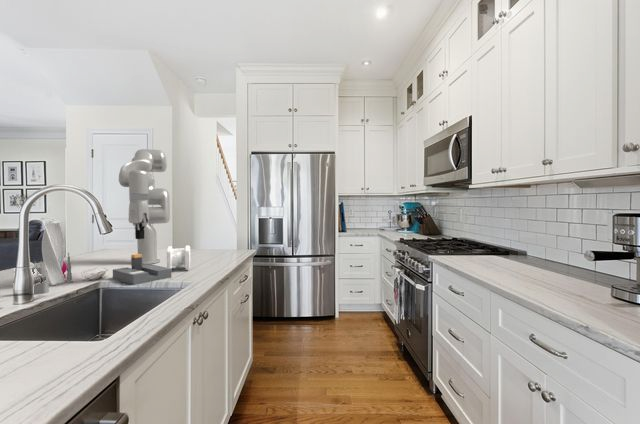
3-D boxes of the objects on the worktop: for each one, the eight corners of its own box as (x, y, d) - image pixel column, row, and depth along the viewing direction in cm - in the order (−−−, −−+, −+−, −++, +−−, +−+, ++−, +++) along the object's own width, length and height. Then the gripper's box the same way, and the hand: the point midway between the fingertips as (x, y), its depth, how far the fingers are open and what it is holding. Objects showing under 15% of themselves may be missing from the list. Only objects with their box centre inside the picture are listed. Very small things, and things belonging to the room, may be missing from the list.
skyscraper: (51, 287, 127) (50, 217, 126) (37, 285, 129) (35, 217, 129) (73, 282, 135) (71, 216, 135) (58, 281, 137) (57, 216, 137)
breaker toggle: (131, 271, 145) (131, 254, 144) (138, 270, 147) (138, 253, 147) (134, 272, 143) (134, 255, 143) (142, 271, 146) (141, 254, 145)
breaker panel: (112, 278, 142) (112, 269, 141) (149, 272, 155) (149, 263, 154) (133, 284, 130) (133, 274, 130) (171, 277, 143) (171, 268, 143)
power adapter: (32, 292, 119) (31, 260, 119) (49, 291, 121) (48, 259, 121) (27, 294, 116) (26, 262, 116) (45, 293, 118) (44, 261, 118)
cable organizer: (168, 267, 166) (168, 245, 165) (190, 266, 170) (190, 244, 169) (167, 273, 152) (166, 249, 152) (190, 271, 156) (190, 247, 156)
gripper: (122, 198, 144) (123, 238, 144) (138, 198, 135) (139, 241, 136) (139, 198, 150) (140, 236, 150) (155, 198, 141) (156, 239, 142)
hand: (139, 238), depth 143 cm, fingers closed
